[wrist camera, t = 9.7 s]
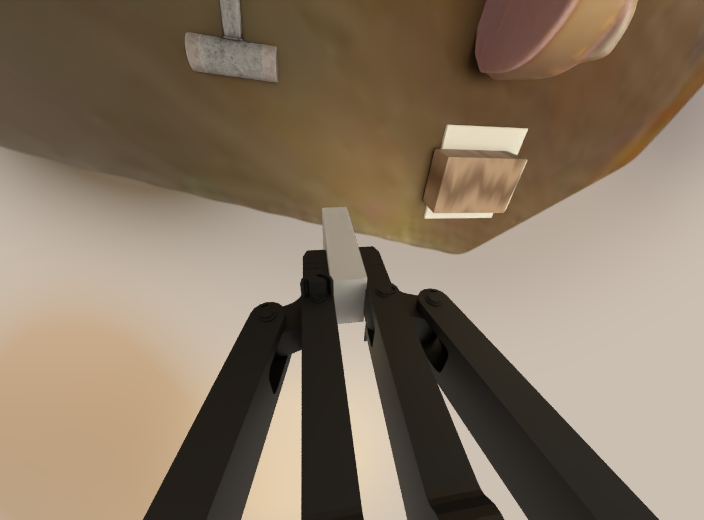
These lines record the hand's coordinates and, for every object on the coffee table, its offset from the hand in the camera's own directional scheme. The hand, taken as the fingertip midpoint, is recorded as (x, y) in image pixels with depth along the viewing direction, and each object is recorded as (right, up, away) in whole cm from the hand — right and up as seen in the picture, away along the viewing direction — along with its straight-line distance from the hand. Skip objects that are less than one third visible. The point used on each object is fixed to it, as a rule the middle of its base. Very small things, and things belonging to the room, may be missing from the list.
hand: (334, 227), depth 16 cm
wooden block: (+15, +11, +26) cm, 32 cm away
